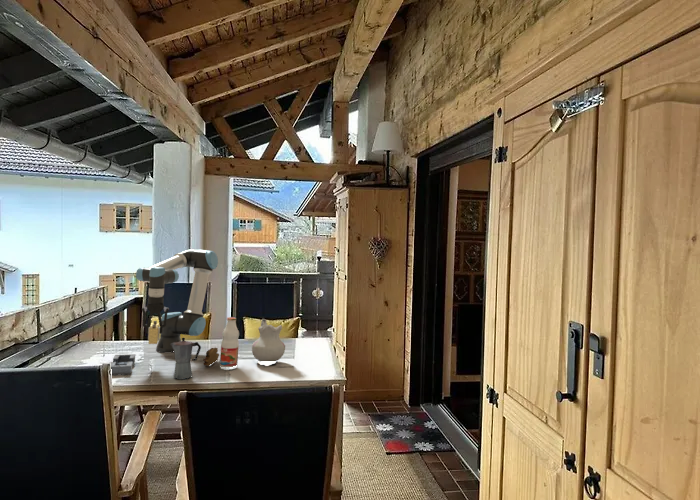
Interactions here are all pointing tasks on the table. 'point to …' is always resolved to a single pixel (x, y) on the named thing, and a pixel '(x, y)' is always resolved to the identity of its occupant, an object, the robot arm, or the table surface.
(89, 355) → the table surface
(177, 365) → the moka pot
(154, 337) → the yellow block with knob
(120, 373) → the end link
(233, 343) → the fruit juice
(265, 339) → the ceramic pitcher
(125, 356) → the end link
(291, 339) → the table surface
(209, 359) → the wooden carving
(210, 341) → the table surface
